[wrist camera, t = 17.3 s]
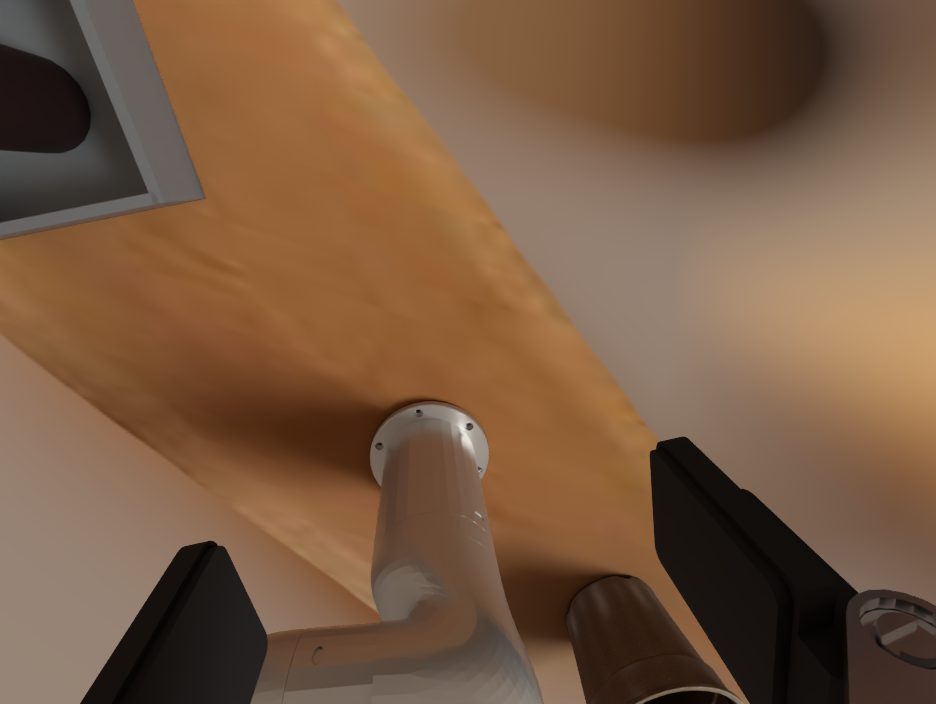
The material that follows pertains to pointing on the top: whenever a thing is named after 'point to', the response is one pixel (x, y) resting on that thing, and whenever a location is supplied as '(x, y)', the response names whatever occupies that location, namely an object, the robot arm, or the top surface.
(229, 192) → the top surface
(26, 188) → the tote
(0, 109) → the vinegar
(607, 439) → the top surface
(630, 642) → the plant pot
